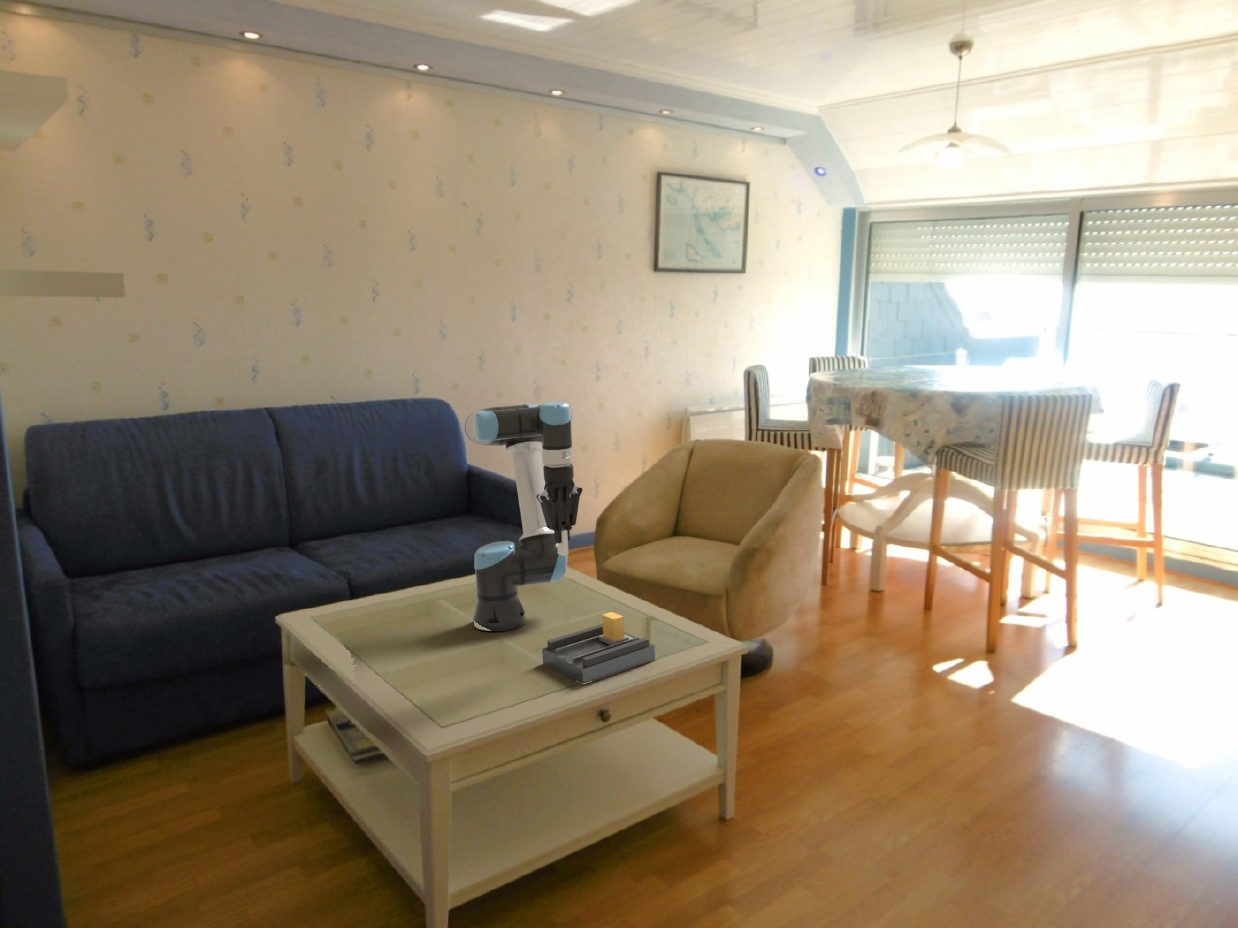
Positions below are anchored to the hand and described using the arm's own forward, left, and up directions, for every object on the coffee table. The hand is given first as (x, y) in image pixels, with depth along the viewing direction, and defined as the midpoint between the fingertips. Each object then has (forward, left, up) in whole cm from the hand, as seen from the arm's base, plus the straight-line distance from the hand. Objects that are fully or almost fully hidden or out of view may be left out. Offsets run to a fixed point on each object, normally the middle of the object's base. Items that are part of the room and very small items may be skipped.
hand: (563, 554), depth 225 cm
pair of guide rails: (+11, +2, -23) cm, 25 cm away
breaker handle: (+11, +7, -22) cm, 26 cm away
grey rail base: (+11, +2, -27) cm, 29 cm away
